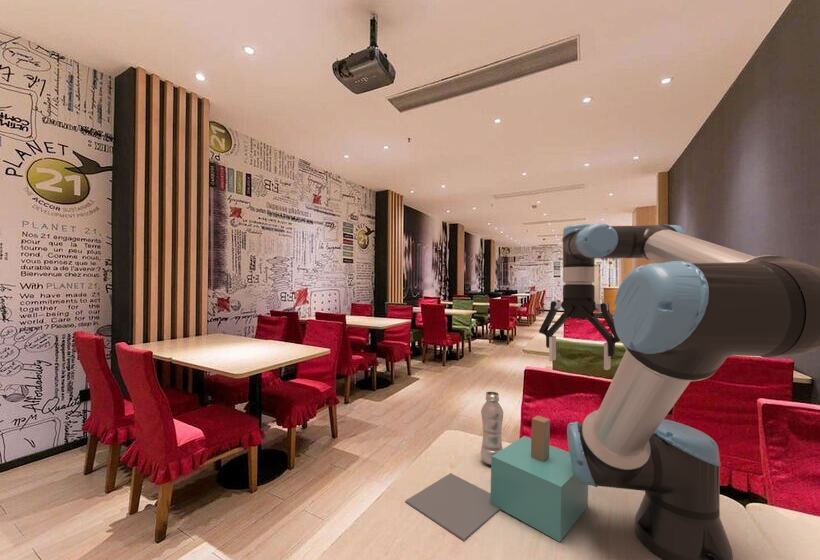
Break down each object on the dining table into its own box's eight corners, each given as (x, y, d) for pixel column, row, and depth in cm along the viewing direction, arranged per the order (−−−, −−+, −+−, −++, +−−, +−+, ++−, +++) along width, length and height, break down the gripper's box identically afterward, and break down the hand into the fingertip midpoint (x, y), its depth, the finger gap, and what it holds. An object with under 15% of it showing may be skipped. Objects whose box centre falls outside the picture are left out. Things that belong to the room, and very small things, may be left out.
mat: (507, 503, 80) (507, 501, 80) (463, 541, 68) (463, 539, 68) (450, 474, 92) (450, 473, 92) (405, 502, 80) (405, 500, 80)
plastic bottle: (503, 458, 101) (503, 390, 101) (504, 470, 94) (504, 398, 94) (480, 455, 102) (481, 389, 103) (480, 467, 96) (480, 396, 96)
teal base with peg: (587, 506, 79) (589, 420, 79) (560, 542, 68) (562, 441, 68) (523, 477, 90) (524, 402, 91) (490, 503, 79) (492, 417, 79)
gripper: (637, 284, 83) (637, 370, 83) (538, 283, 101) (538, 355, 101) (629, 283, 78) (629, 376, 78) (527, 283, 96) (526, 358, 96)
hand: (578, 364), depth 89 cm, fingers open, 13 cm apart
